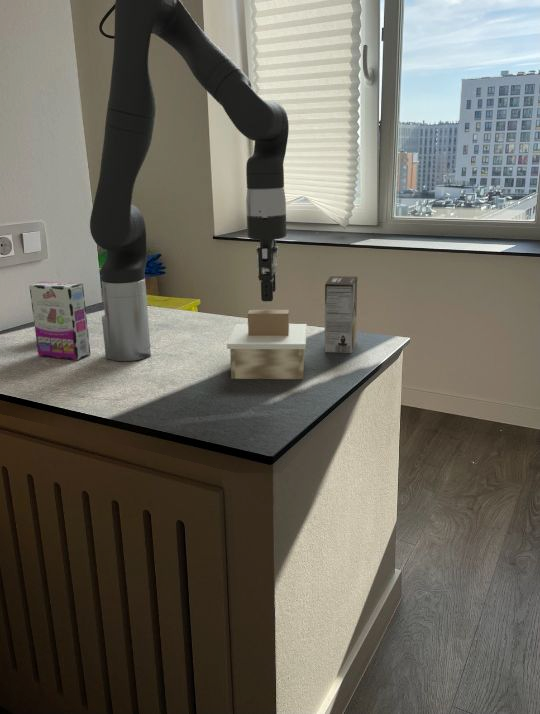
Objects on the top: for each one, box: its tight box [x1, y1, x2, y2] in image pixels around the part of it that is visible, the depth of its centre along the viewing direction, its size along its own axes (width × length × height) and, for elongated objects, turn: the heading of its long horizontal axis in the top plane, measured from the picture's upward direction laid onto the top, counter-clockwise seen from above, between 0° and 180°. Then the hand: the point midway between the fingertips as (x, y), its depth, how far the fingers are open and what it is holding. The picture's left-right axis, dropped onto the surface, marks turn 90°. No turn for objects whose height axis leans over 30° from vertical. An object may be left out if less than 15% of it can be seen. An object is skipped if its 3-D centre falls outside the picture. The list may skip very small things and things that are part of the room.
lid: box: [226, 309, 308, 350], centre depth 129 cm, size 15×15×6 cm
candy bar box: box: [28, 281, 91, 361], centre depth 142 cm, size 11×5×16 cm, turn 68°
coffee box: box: [324, 275, 358, 354], centre depth 143 cm, size 9×6×16 cm
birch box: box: [229, 349, 305, 380], centre depth 131 cm, size 14×14×7 cm
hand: (268, 296), depth 127 cm, fingers open, 8 cm apart
